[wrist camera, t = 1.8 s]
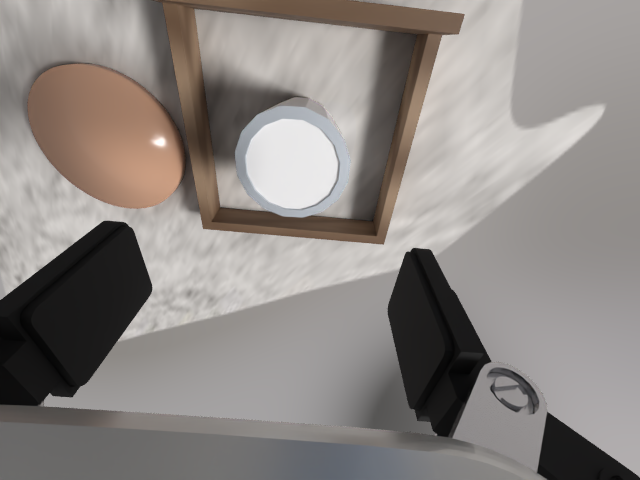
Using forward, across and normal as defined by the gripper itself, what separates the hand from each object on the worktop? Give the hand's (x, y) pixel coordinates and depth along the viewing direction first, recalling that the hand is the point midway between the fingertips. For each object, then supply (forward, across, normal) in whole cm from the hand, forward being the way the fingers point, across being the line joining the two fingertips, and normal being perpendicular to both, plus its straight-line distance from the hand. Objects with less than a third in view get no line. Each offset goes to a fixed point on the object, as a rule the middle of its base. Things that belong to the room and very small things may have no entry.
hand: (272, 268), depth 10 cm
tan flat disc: (+15, +15, +1) cm, 22 cm away
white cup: (+16, 0, -1) cm, 16 cm away
